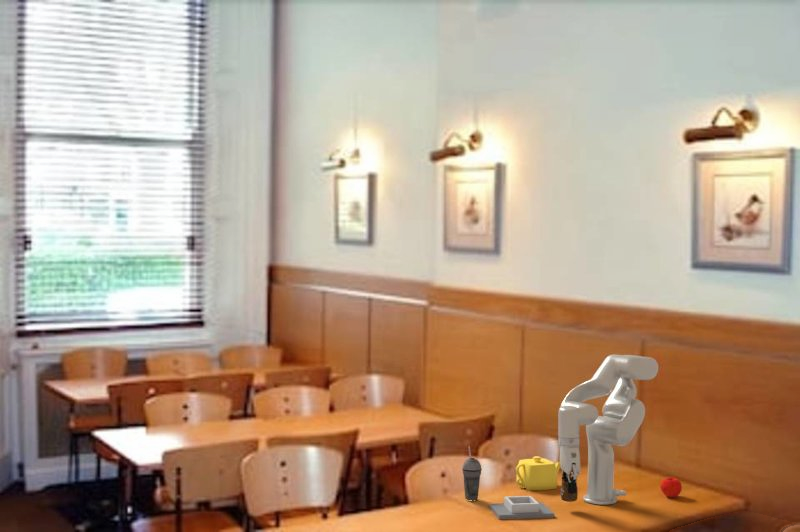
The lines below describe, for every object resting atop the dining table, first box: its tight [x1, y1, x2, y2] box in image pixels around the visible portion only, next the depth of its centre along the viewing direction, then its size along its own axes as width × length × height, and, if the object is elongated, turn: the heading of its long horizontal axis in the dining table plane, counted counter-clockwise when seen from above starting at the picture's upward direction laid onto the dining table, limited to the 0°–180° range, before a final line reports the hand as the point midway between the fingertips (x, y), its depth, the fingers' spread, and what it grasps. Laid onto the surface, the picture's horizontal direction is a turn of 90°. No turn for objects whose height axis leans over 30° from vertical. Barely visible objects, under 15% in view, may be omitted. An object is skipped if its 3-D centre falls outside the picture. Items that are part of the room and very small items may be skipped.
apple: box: [659, 477, 683, 499], centre depth 370 cm, size 8×8×7 cm
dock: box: [488, 495, 555, 520], centre depth 346 cm, size 20×14×4 cm
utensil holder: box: [560, 472, 578, 503], centre depth 349 cm, size 6×6×12 cm
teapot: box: [515, 455, 561, 491], centre depth 382 cm, size 20×12×12 cm, turn 110°
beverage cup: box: [461, 445, 482, 502], centre depth 361 cm, size 7×7×20 cm
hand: (569, 489), depth 349 cm, fingers closed on utensil holder, 5 cm apart
